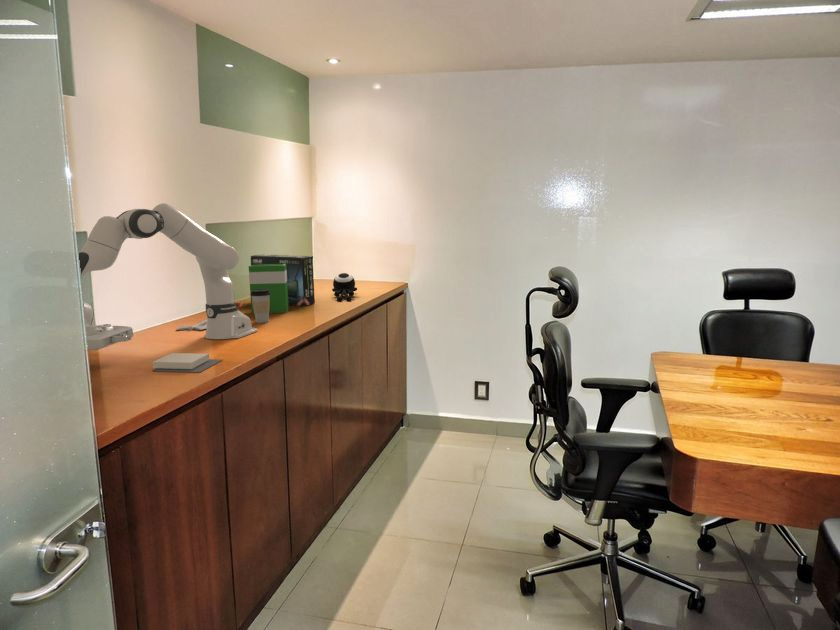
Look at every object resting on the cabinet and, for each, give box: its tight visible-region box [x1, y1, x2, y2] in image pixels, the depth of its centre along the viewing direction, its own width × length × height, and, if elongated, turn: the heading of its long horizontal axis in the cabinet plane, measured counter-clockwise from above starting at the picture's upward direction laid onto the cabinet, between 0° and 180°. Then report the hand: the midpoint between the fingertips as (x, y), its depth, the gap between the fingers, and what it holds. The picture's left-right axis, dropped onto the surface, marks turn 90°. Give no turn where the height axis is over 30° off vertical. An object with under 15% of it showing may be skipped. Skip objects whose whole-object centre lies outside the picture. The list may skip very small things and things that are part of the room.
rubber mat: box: [152, 358, 223, 374], centre depth 208 cm, size 17×16×1 cm
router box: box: [250, 253, 316, 307], centre depth 334 cm, size 36×11×27 cm, turn 66°
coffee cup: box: [249, 289, 271, 324], centre depth 283 cm, size 9×9×15 cm
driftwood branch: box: [176, 319, 207, 332], centre depth 280 cm, size 30×14×2 cm, turn 175°
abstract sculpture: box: [331, 272, 358, 303], centre depth 354 cm, size 15×19×32 cm
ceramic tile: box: [152, 352, 210, 369], centre depth 208 cm, size 2×12×14 cm
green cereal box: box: [248, 264, 290, 314], centre depth 310 cm, size 18×7×24 cm, turn 94°
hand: (128, 338), depth 210 cm, fingers closed
